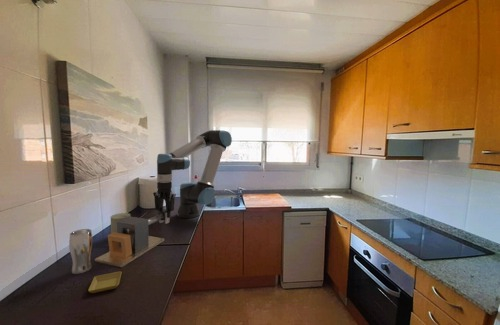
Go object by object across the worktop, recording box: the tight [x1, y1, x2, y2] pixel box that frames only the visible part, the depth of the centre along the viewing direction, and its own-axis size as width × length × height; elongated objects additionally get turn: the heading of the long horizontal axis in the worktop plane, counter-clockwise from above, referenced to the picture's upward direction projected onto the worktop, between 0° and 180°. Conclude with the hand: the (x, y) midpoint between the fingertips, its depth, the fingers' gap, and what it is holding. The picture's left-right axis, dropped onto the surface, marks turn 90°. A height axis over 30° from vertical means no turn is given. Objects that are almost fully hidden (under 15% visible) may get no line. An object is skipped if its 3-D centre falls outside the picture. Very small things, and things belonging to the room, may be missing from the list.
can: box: [109, 212, 132, 234], centre depth 112 cm, size 9×9×12 cm
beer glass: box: [68, 228, 93, 275], centre depth 82 cm, size 7×7×15 cm
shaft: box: [125, 208, 166, 234], centre depth 109 cm, size 27×3×5 cm, turn 164°
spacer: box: [107, 232, 132, 258], centre depth 92 cm, size 3×9×9 cm, turn 74°
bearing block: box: [94, 216, 165, 268], centre depth 99 cm, size 26×14×14 cm, turn 164°
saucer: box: [87, 271, 123, 294], centre depth 74 cm, size 9×9×2 cm
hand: (164, 222), depth 120 cm, fingers closed on shaft, 3 cm apart
